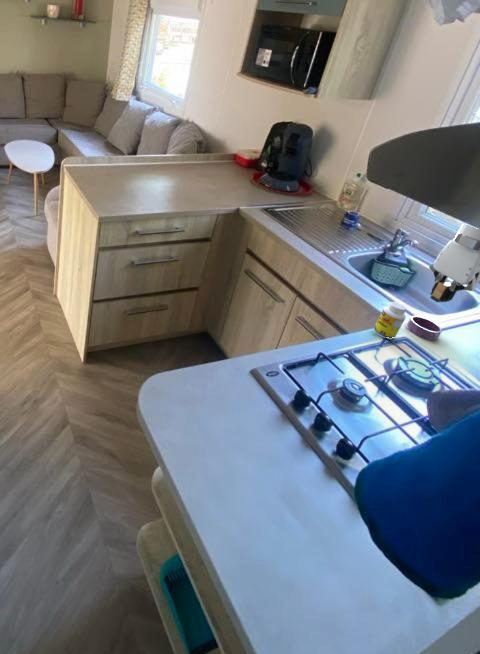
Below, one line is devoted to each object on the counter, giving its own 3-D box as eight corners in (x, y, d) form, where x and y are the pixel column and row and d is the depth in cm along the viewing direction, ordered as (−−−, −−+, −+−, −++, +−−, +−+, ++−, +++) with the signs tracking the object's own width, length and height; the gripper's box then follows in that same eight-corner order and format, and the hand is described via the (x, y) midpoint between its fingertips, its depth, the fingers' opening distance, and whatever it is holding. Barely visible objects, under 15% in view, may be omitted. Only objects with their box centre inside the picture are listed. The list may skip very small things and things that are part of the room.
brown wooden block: (439, 297, 125) (448, 282, 123) (446, 302, 123) (456, 286, 121) (429, 298, 124) (438, 282, 122) (437, 302, 122) (446, 286, 120)
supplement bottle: (368, 327, 127) (383, 298, 123) (386, 329, 127) (401, 301, 123) (380, 339, 122) (395, 310, 118) (398, 341, 122) (414, 312, 118)
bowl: (428, 326, 132) (432, 319, 131) (443, 343, 125) (448, 335, 124) (401, 321, 133) (405, 313, 132) (415, 337, 125) (419, 329, 124)
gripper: (513, 256, 110) (476, 314, 117) (452, 229, 124) (423, 282, 131) (493, 256, 108) (458, 315, 115) (434, 229, 122) (405, 282, 129)
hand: (439, 297), depth 123 cm, fingers closed on brown wooden block, 2 cm apart
